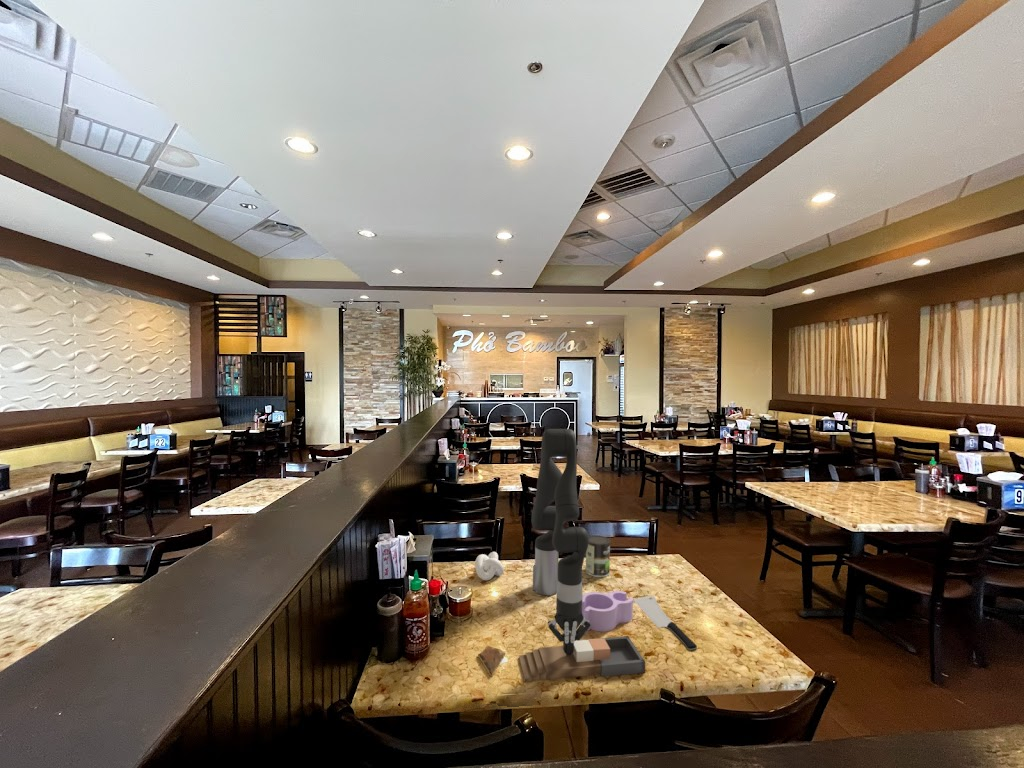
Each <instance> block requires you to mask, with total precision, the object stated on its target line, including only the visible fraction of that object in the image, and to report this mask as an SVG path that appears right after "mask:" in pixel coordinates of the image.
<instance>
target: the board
mask: <svg viewBox="0 0 1024 768" xmlns="http://www.w3.org/2000/svg"><path fill="white" fill-rule="evenodd" d="M538 649H539V652H540V655H541V658H542V661H543V664H544V667H545V670H546V679H545V680H553V679H567V678H574V677H575V678H578V677H586V676H596V675H597V676H599V675H601V665H600V663H599V661H598V660H594V661H584V662H577V661H576V659H575V657H574V654H573V653H572V655H566V653H565V652H564V650H563V645H558V646H544V647H538Z"/></svg>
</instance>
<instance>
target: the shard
mask: <svg viewBox="0 0 1024 768" xmlns="http://www.w3.org/2000/svg"><path fill="white" fill-rule="evenodd" d="M506 653H507V652H506V651H504V650H502V649H499V648H496V647H493V646H490V645H486V646H485V647H484V649H483V650H482V651H481V652H480V653H478V654H477V657H478V659H479V660H480V661H481V662H482V664H483V666H484V668H485V670H486V672H487V673H488V674H489V676H490V677H492V678H493V676H494V674H495V672H496V670H497V668H498V667H499V665H500V663H501V662H502V660H503V659H504V657H505V656H506Z"/></svg>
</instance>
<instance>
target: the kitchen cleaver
mask: <svg viewBox="0 0 1024 768" xmlns="http://www.w3.org/2000/svg"><path fill="white" fill-rule="evenodd" d="M633 602H634V603H636V605H637V606H638V607H639V608H640V609H641V610H642V611H643V613H644V614H645V615H646V616H647V617H648V618H649V620H650V621H651V622H652V623H653V624H654V626H655V627H657V628H658V629H660V628H661V629H662V628H667V629H668V630H670V631H671V632H672V633H673V634H674V635H675V636H676V637H677V638H678V639H679V640H680V641H681V643H683V645H684V646H685V647H686V649H687V650H688V651H697V648H698V646H697V644H696V643H695V642H693V640H692V639H691V638H690V637H688V636H687V634H685V633H684V632H683V631H682V629H681V628H680V627H679V626H678V625H677V624H676V623H675V622H674V621H672V620H671V618H670V617H669V616H668V615H666V613H665V612H664V611H663V610H662V608H661V607H660V605H659V603H658V602H657V599H656V597H655V596H654V595H648V596H643V597H638V598H633Z"/></svg>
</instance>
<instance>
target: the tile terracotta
mask: <svg viewBox="0 0 1024 768" xmlns="http://www.w3.org/2000/svg"><path fill="white" fill-rule="evenodd" d="M600 638H601V639H599V638H588V639H587V640H589V642H590V644H591V646H592V648H593V650H594V660H602V659H610V648H609V646H608V644H607V642H606V641H605V639H604V638H605V637H600Z"/></svg>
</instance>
